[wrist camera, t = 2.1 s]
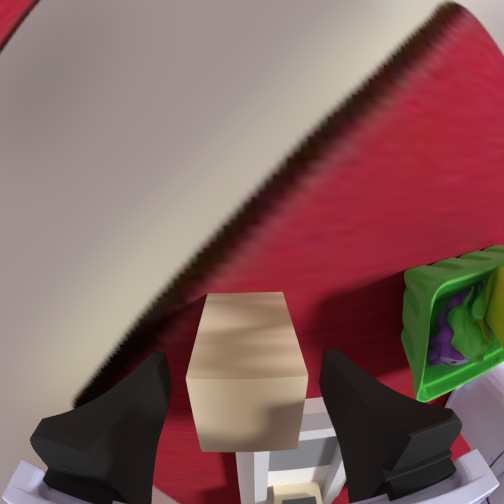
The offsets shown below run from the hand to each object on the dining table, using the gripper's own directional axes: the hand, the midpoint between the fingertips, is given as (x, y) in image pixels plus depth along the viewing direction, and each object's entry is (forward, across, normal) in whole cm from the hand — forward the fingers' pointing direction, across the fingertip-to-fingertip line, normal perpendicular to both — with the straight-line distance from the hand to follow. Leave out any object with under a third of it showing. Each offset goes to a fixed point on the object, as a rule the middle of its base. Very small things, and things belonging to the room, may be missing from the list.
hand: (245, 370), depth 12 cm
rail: (+4, -4, +14) cm, 15 cm away
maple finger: (+4, 0, 0) cm, 4 cm away
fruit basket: (+4, -14, -2) cm, 15 cm away
